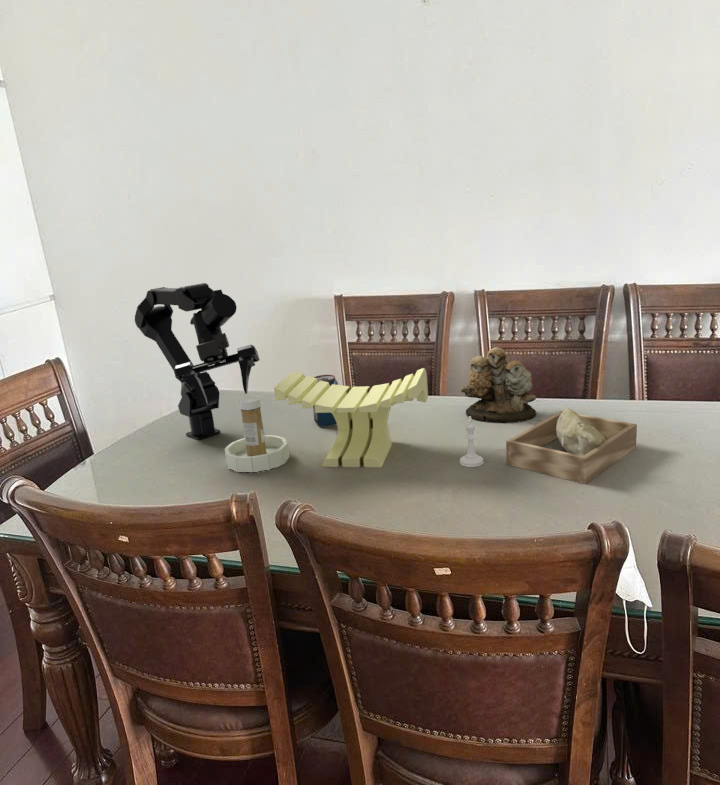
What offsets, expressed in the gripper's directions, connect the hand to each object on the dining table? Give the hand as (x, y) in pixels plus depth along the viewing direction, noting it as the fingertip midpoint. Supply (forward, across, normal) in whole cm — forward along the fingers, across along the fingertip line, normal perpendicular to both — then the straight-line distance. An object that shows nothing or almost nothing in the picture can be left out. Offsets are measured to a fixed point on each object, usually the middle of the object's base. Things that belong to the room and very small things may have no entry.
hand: (226, 399), depth 151 cm
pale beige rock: (+36, +70, -12) cm, 79 cm away
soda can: (+9, +20, +20) cm, 30 cm away
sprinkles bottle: (+14, +3, +1) cm, 15 cm away
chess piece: (+30, +47, -10) cm, 56 cm away
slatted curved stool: (+20, +25, 0) cm, 32 cm away
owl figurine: (+20, +61, +15) cm, 66 cm away
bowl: (+15, +3, +1) cm, 16 cm away
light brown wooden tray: (+34, +67, -11) cm, 76 cm away
